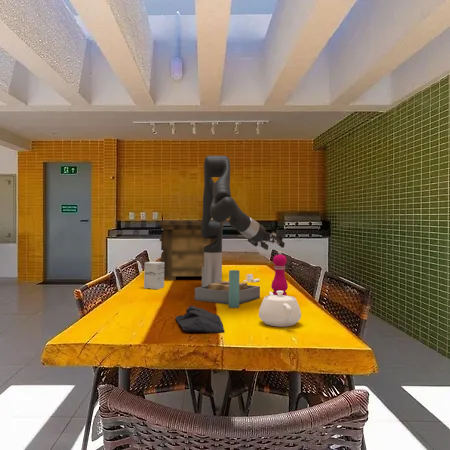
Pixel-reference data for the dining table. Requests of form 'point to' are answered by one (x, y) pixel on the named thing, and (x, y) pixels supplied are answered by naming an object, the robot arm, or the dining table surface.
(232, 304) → the peg
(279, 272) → the pepper mill
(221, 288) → the bore block
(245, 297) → the tray
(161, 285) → the white marbled block
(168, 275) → the crate
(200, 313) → the dark gray crumpled cloth
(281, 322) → the teapot
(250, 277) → the teacup and saucer
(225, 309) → the dining table surface
